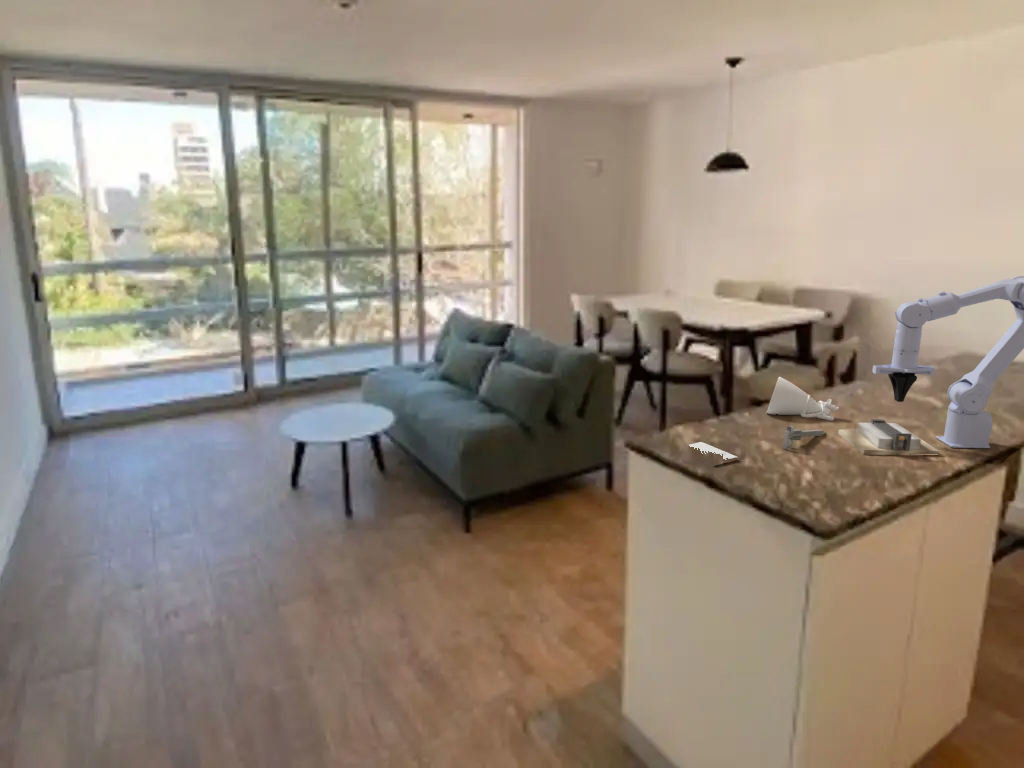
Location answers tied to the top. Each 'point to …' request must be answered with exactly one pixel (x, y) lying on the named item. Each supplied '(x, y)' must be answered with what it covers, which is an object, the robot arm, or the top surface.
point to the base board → (881, 451)
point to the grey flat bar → (888, 429)
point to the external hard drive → (712, 450)
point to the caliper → (798, 435)
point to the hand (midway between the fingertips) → (898, 400)
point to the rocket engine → (797, 402)
